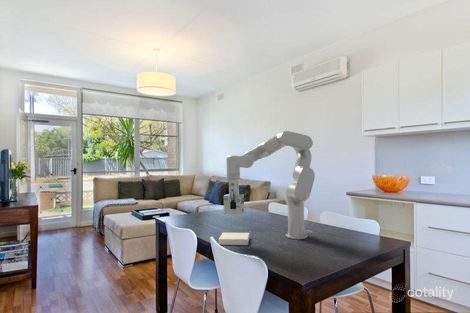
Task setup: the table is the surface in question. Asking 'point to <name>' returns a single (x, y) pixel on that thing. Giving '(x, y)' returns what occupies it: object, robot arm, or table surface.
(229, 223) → the table surface
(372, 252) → the table surface
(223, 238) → the base block
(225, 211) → the light bulb box
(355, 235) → the table surface
